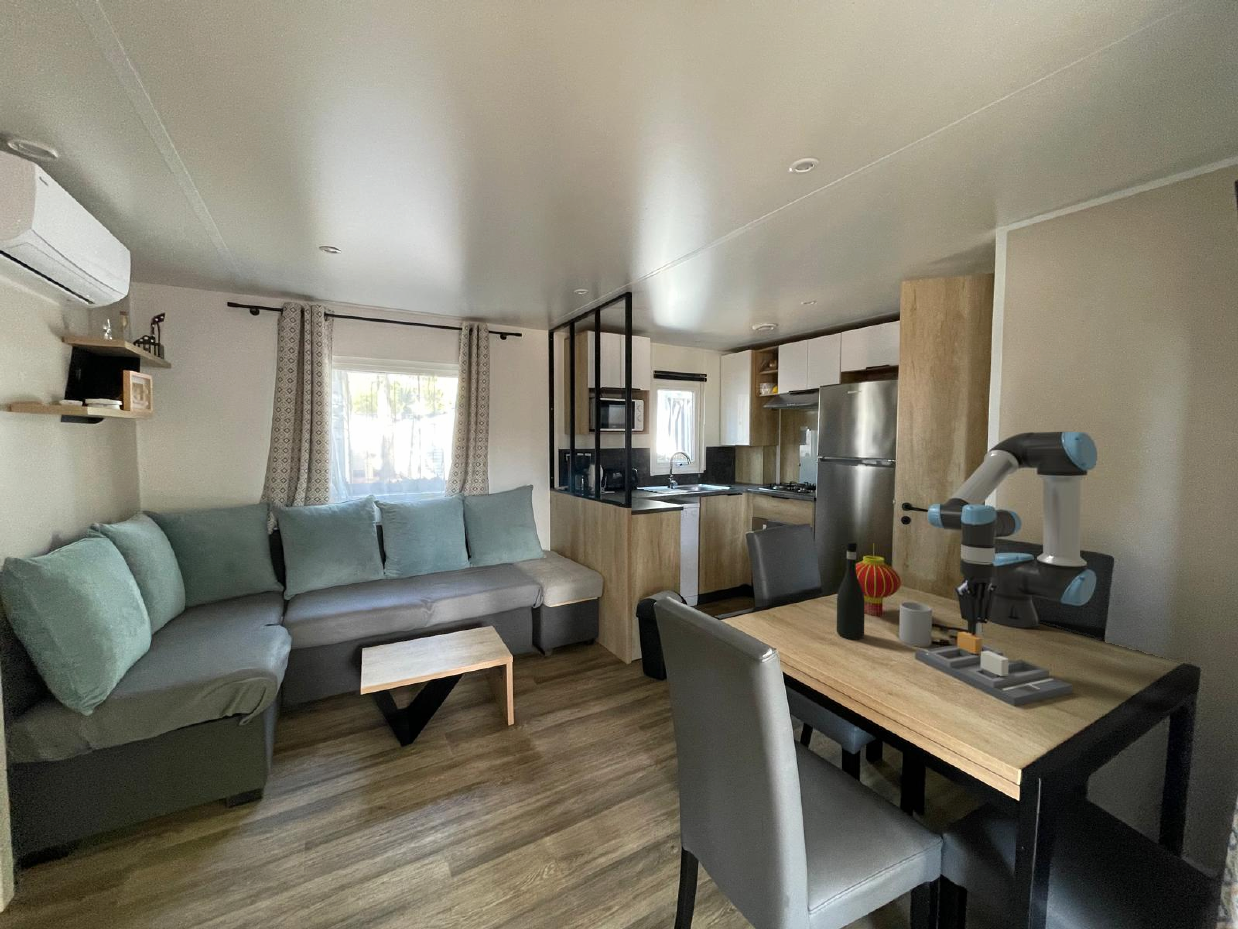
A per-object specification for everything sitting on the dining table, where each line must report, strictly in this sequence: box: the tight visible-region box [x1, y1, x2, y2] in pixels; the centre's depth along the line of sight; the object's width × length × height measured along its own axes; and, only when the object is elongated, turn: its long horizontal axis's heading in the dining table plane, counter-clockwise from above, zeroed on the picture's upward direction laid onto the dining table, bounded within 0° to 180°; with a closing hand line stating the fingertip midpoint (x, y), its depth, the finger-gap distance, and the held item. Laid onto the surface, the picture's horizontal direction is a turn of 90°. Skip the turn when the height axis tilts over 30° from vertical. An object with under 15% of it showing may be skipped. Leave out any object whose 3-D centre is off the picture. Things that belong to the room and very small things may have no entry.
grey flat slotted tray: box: [914, 643, 1073, 707], centre depth 126 cm, size 20×26×4 cm
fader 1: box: [956, 631, 983, 657], centre depth 132 cm, size 3×5×6 cm, turn 17°
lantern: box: [856, 544, 902, 617], centre depth 172 cm, size 17×17×30 cm
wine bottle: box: [836, 541, 865, 640], centre depth 152 cm, size 8×8×30 cm
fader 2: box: [981, 651, 1010, 679], centre depth 120 cm, size 3×5×6 cm, turn 17°
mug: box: [898, 601, 933, 648], centre depth 149 cm, size 12×8×11 cm
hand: (974, 645), depth 133 cm, fingers closed
